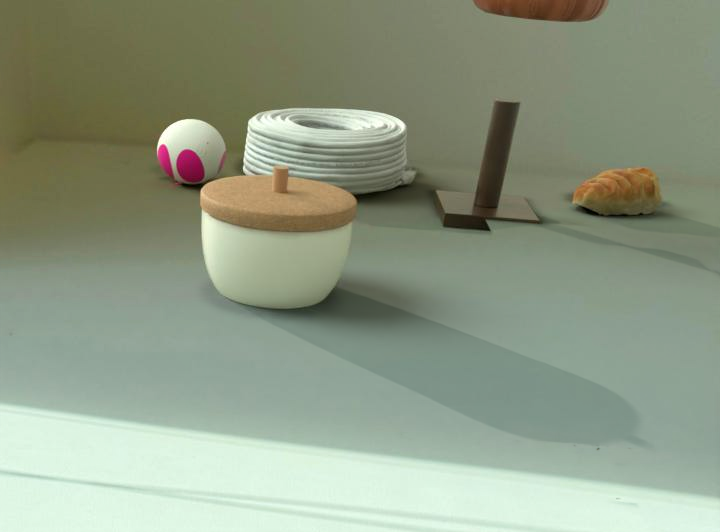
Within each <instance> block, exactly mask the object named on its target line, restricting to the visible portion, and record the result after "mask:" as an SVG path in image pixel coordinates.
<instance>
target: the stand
mask: <svg viewBox="0 0 720 532" xmlns="http://www.w3.org/2000/svg"><path fill="white" fill-rule="evenodd" d="M521 103H522V101H521V100H519V99H516V98H510V97H495V98H494V101H493V106H492V110H491V115H490V121H489V126H488V130H487V135H486V140H485V145H484V150H483V154H482V155H483V156H482V160H481V165H480V170H479V175H478V179H477V184H476V190H475V192H463V191H452V190H439V189H436V190H435V193H434V197H433V205H434V208H435V209H436V212H437V215H438V217H439V219H440V222H441V224H442V225H441V226H442V227H447V228H448V227H449V228H460V229H461V228H462V229H473V230H487V231H491V228H490V226H489V224H488V222H487V220H488V221H502V222H512V223H513V222H514V223H526V224H540V222H541V220H540V219H539V217H538V216H537V214H536V213H535V212H534V210H533V209H532V207H531V206H530V205H529V204H528V203H529V202H527V200H526V199H525V198H524V197H523V196H514V195H503V194H502V191H503V185H504V181H505V177H506V174H507V173H506V172H507V168H508V165H509V164H508V163H509V158H510V154H511V149H512V145H513V141H514V137H515V131H516V127H517V122H518V119H519V113H520V108H521ZM501 194H502V195H501Z"/></svg>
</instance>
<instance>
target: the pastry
mask: <svg viewBox="0 0 720 532" xmlns="http://www.w3.org/2000/svg"><path fill="white" fill-rule="evenodd" d="M658 176H659V175H657V174H656V172H654V171H653V170H652V169H651V168H648V167H645V166H643V167H636V168H633V167H628V168H627V169H622V168H621V169H620V168H615V169H611V170H610V169H609V170H605V171H602V172H599V174H597V175H596V176H595V177H593V178H589V179H587V180H586V181H584V182H583V183H581V184H580V185H579V186H577V187H576V188H575V189H574V191H573V198H572V202H571V205H574V204H575V205H579V206H580V207H583V208H585V209H589V210H591V211H593V212H596V213H598V215H599V216H600V215H603V216H609V215H617V216H621V215H628V216H635V215H636V216H637V215H639V214H643V215H649V214H651V213H653V212H654V211H655V210H656V209H657V208H658V207H660V206H661V204H662V201H663V197H662V194H661V191H662V189H661V186H660V183H659V177H658Z"/></svg>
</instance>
